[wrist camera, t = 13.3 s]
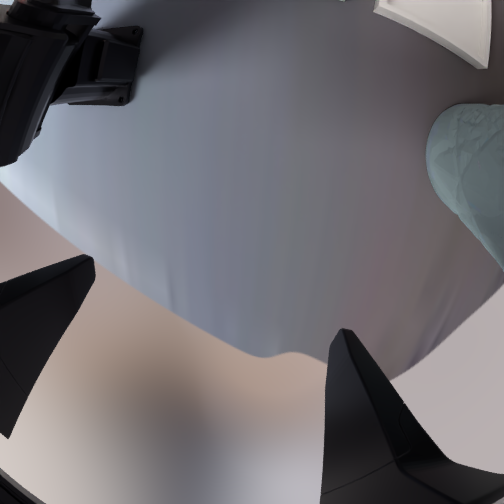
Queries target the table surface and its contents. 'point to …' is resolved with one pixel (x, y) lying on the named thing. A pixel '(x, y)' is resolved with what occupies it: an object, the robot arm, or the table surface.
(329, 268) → the table surface
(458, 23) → the dish
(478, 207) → the teal patterned cup
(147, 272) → the table surface
